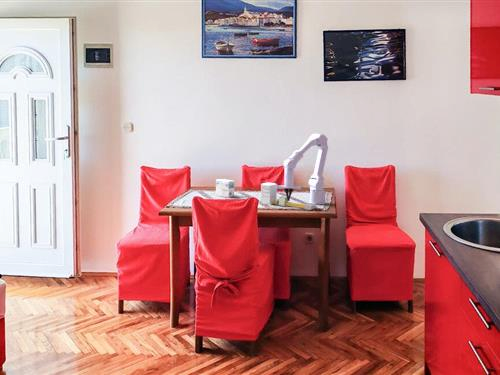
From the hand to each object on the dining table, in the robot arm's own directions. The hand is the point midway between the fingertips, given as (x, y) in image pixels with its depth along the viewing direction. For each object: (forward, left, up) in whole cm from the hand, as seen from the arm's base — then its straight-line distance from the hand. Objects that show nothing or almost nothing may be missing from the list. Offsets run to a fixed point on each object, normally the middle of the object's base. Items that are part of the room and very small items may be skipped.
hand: (288, 200), depth 391 cm
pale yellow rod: (-2, +2, -3) cm, 4 cm away
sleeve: (+2, -3, -3) cm, 5 cm away
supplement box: (+8, -11, -3) cm, 14 cm away
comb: (-9, +11, -3) cm, 14 cm away
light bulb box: (+25, -43, -3) cm, 50 cm away
